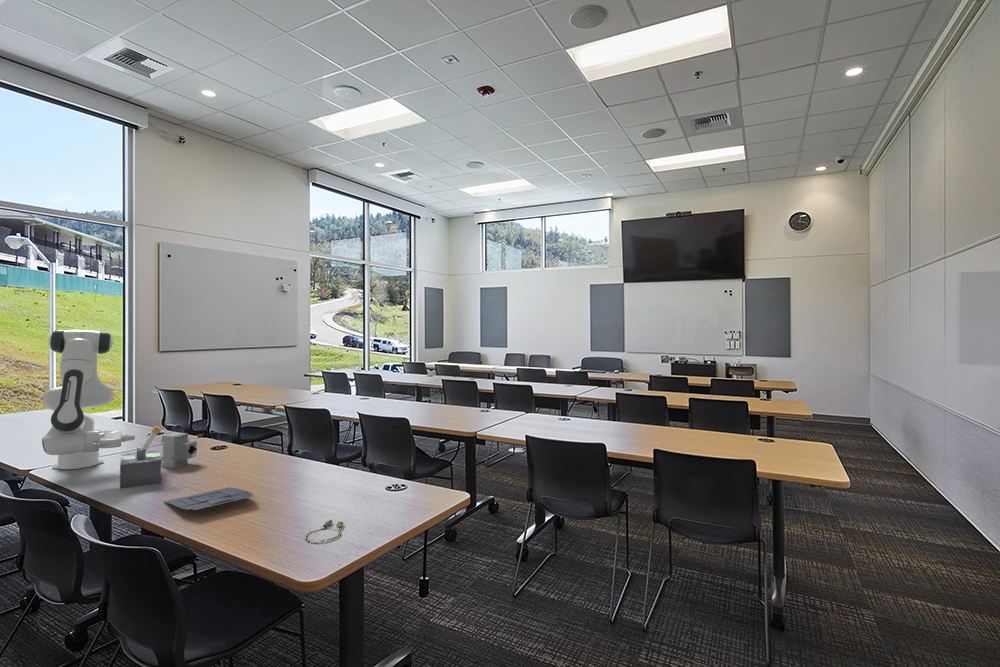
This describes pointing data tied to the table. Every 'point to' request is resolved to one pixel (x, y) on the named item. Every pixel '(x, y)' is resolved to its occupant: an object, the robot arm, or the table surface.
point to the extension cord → (339, 524)
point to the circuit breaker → (177, 449)
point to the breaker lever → (151, 437)
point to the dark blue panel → (210, 498)
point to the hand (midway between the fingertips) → (134, 437)
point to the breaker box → (140, 468)
